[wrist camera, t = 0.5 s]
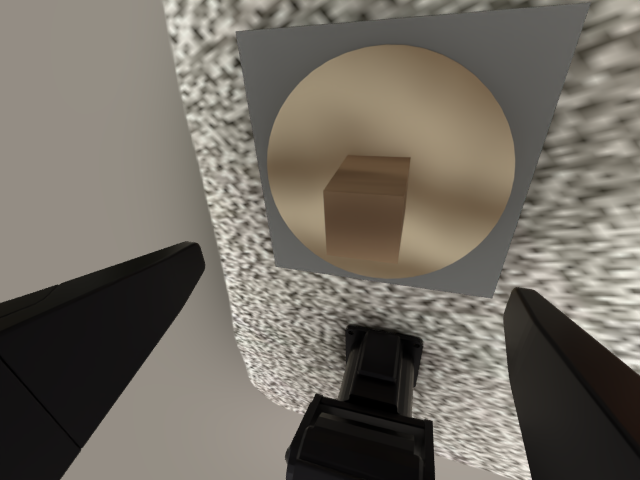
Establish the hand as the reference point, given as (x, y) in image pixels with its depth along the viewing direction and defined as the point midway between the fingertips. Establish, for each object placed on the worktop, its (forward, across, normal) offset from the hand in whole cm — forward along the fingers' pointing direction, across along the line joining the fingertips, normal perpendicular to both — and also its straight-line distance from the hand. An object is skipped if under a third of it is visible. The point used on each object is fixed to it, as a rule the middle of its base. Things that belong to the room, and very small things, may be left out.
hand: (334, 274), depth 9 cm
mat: (+12, 0, +1) cm, 12 cm away
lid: (+11, 0, +1) cm, 11 cm away
